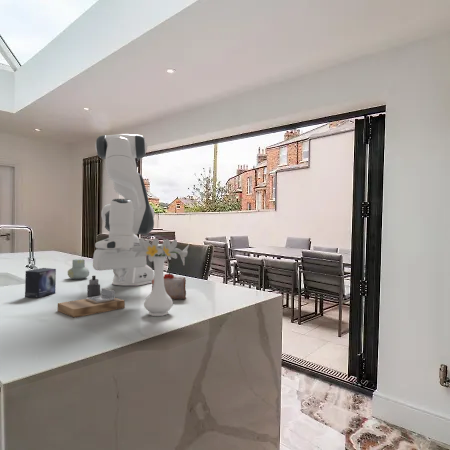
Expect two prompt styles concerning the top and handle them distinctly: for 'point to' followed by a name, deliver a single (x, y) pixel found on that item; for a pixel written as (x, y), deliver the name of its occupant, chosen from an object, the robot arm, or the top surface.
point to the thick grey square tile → (102, 296)
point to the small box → (40, 282)
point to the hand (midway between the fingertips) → (120, 281)
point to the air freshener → (78, 269)
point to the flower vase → (159, 272)
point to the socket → (89, 307)
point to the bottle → (93, 287)
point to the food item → (174, 286)
